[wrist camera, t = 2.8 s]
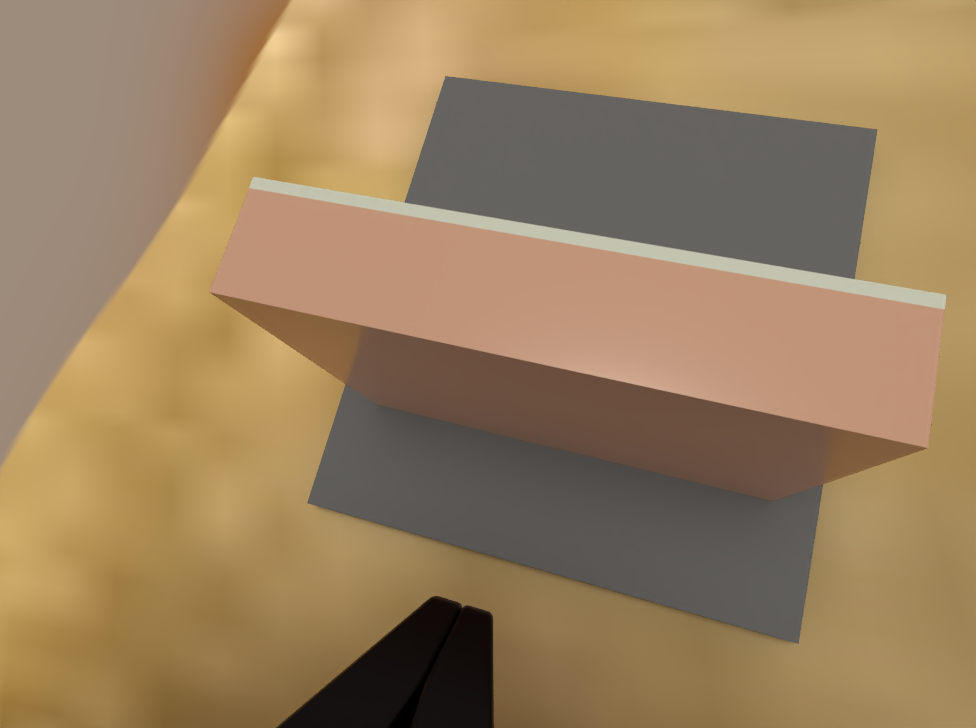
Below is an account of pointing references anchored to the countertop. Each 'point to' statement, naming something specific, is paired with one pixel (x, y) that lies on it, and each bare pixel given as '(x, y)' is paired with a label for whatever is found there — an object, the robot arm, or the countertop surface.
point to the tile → (592, 338)
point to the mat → (633, 217)
